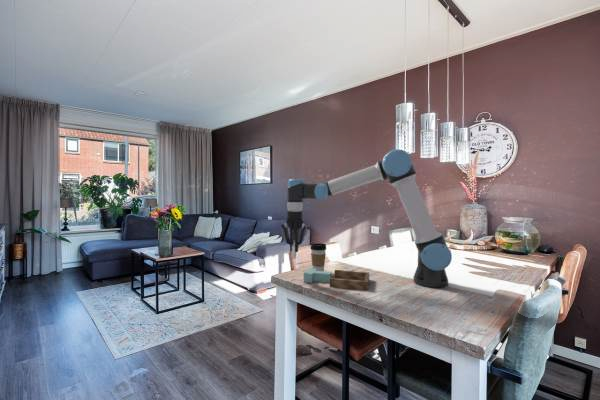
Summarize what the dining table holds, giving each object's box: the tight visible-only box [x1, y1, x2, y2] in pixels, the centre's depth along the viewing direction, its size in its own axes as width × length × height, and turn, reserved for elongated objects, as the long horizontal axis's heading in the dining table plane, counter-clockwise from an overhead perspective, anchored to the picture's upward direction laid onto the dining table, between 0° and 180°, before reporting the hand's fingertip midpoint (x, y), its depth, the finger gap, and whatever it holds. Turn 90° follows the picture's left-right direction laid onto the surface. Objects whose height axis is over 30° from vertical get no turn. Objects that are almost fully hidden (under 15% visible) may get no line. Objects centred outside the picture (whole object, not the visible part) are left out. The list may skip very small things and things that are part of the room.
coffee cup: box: [310, 242, 327, 271], centre depth 161 cm, size 8×8×15 cm
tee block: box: [303, 268, 332, 284], centre depth 147 cm, size 12×10×4 cm
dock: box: [329, 269, 370, 291], centre depth 143 cm, size 17×16×4 cm
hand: (293, 258), depth 150 cm, fingers closed
